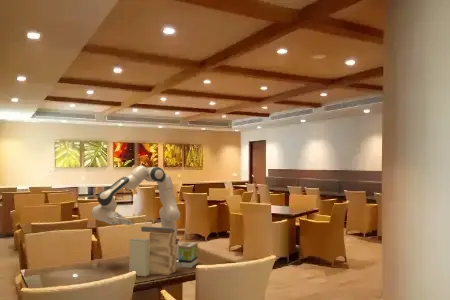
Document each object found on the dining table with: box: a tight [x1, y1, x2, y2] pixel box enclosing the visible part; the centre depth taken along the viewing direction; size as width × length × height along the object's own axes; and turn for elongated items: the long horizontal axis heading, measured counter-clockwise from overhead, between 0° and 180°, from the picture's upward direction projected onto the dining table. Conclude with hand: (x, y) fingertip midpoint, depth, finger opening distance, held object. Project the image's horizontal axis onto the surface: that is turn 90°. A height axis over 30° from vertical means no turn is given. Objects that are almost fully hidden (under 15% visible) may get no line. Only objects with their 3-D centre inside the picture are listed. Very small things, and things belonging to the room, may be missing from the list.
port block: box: [128, 238, 150, 277], centre depth 260 cm, size 4×12×22 cm, turn 68°
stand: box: [148, 230, 177, 276], centre depth 267 cm, size 10×14×28 cm
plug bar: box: [140, 225, 173, 233], centre depth 269 cm, size 3×22×3 cm, turn 68°
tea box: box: [177, 241, 199, 269], centre depth 285 cm, size 15×10×15 cm, turn 168°
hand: (130, 223), depth 276 cm, fingers open, 8 cm apart
